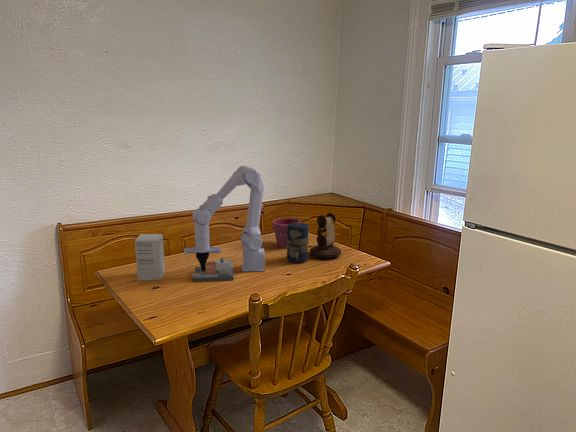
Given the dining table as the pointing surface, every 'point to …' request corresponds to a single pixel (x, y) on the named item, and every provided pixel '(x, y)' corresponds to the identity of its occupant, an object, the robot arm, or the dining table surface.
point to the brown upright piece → (326, 238)
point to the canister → (297, 242)
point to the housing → (222, 266)
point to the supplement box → (149, 256)
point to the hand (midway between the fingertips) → (203, 269)
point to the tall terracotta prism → (211, 268)
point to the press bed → (202, 275)
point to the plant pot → (282, 230)
